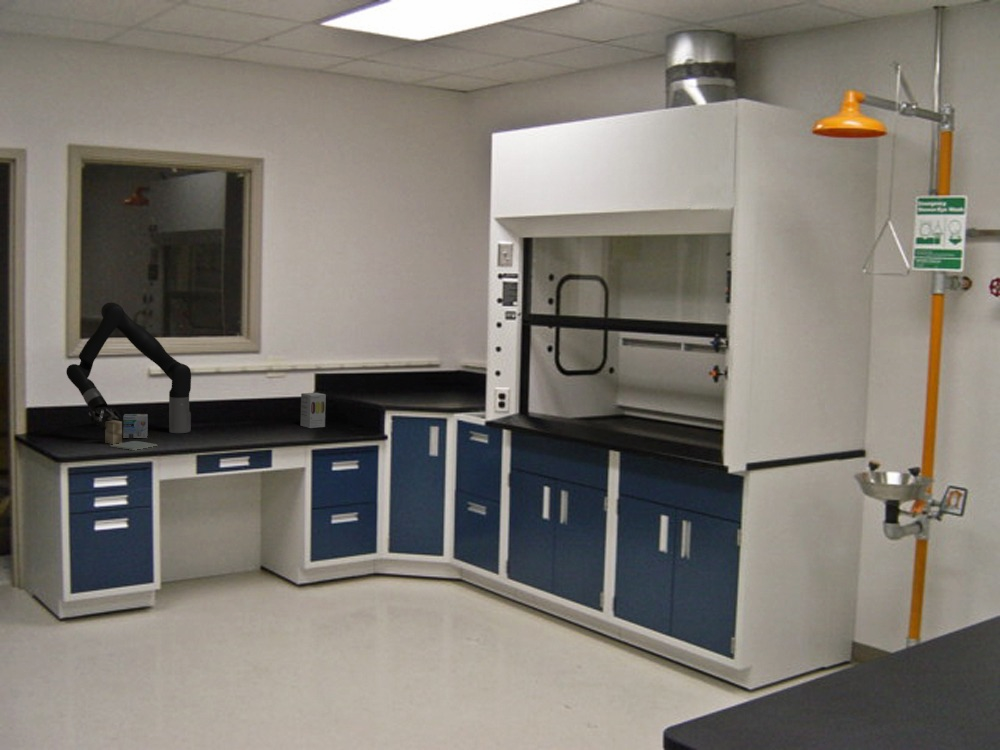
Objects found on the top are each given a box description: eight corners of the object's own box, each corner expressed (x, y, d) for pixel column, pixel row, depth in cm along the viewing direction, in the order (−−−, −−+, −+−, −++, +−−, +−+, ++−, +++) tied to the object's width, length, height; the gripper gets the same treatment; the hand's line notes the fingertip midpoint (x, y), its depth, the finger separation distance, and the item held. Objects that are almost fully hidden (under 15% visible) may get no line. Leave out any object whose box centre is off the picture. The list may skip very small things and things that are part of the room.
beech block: (114, 442, 487) (114, 420, 486) (121, 443, 485) (121, 421, 484) (105, 443, 483) (105, 421, 482) (113, 444, 481) (112, 422, 480)
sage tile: (135, 442, 487) (135, 440, 487) (157, 446, 480) (157, 444, 480) (110, 447, 475) (110, 444, 475) (132, 451, 468) (132, 448, 468)
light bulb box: (122, 439, 495) (122, 416, 494) (123, 436, 502) (123, 413, 500) (147, 439, 498) (147, 415, 497) (147, 436, 505) (147, 413, 503)
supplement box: (309, 428, 543) (310, 395, 541) (299, 425, 550) (300, 393, 548) (325, 426, 550) (326, 394, 548) (315, 424, 557) (316, 392, 555)
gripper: (85, 396, 480) (103, 425, 476) (111, 393, 493) (129, 421, 488) (77, 407, 483) (95, 435, 479) (103, 404, 496) (121, 431, 491)
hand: (112, 428), depth 484 cm, fingers open, 8 cm apart
